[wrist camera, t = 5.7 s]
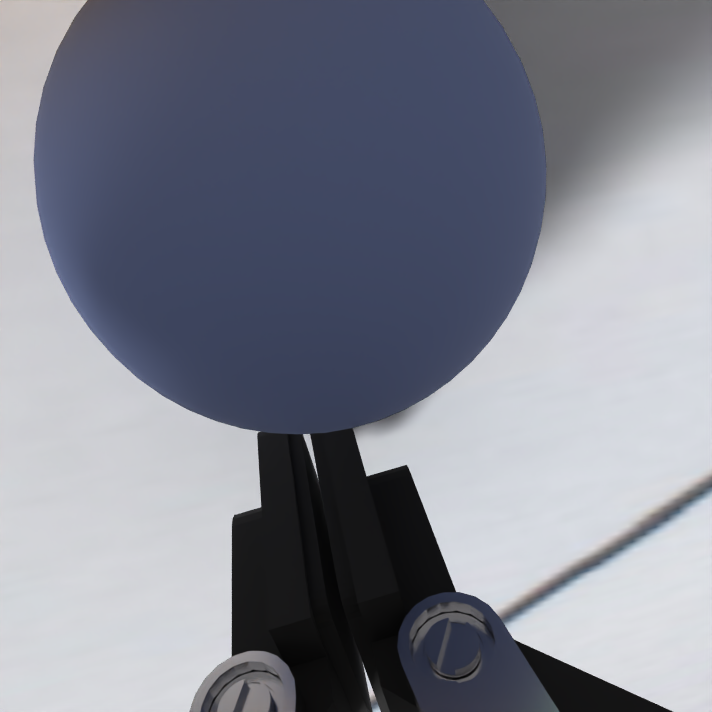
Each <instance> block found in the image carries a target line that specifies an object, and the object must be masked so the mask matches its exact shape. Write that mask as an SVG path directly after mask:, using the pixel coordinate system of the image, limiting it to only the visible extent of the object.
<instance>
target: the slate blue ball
mask: <svg viewBox="0 0 712 712" xmlns="http://www.w3.org/2000/svg"><path fill="white" fill-rule="evenodd" d="M34 172H35V185H36V198H37V206H38V211H39V216H40V220H41V225H42V230H43V234H44V239H45V242H46V245H47V247H48V250H49V253H50V256H51V259H52V261H53V264H54V267H55V270H56V272H57V274H58V276H59V278H60V280H61V282H62V284H63V286H64V288H65V290H66V292H67V294H68V296H69V298H70V300H71V302H72V303H73V305H74V306H75V308H76V309H77V311H78V312H79V314H80V315H81V317H82V318H83V319H84V321H85V322H86V324H87V325H88V327H89V328H90V330H91V331H92V332H93V333H94V334H95V335H96V337H97V338H98V339H99V340H100V341H101V342H102V343H103V345H104V346H105V347H106V348H107V349H108V350H109V351H110V353H111V354H112V355H113V356H114V357H115V358H116V359H117V360H119V361H120V362H121V363H122V364H123V365H124V366H125V367H126V368H127V369H128V370H130V371H131V372H132V373H133V374H134V375H135V376H136V377H137V378H138V379H140V380H141V381H143V382H144V383H146V384H147V385H148V386H150V387H151V388H153V389H154V390H155V391H157V392H158V393H160V394H161V395H162V396H164V397H166V398H168V399H170V400H171V401H173V402H175V403H177V404H179V405H181V406H182V407H184V408H186V409H188V410H190V411H192V412H195V413H197V414H200V415H202V416H205V417H207V418H210V419H212V420H215V421H218V422H221V423H225V424H228V425H232V426H236V427H239V428H243V429H249V430H255V431H261V432H267V433H280V434H313V433H327V432H333V431H338V430H344V429H350V428H354V427H358V426H361V425H365V424H368V423H371V422H375V421H378V420H381V419H383V418H386V417H388V416H390V415H393V414H395V413H398V412H400V411H402V410H405V409H407V408H408V407H410V406H412V405H414V404H416V403H417V402H419V401H421V400H423V399H425V398H426V397H428V396H430V395H431V394H432V393H434V392H435V391H437V390H438V389H439V388H441V387H442V386H444V385H445V384H446V383H448V382H449V381H451V380H452V379H453V378H454V377H455V376H456V375H457V374H458V373H460V372H461V371H462V370H463V369H464V368H465V367H466V366H467V365H469V364H470V363H471V362H472V361H473V360H474V358H475V357H476V356H477V355H478V354H479V353H480V352H481V351H482V349H483V348H484V347H485V346H486V345H487V344H488V343H489V342H490V340H491V339H492V338H493V336H494V335H495V333H496V332H497V330H498V329H499V328H500V326H501V325H502V323H503V322H504V320H505V319H506V318H507V316H508V314H509V312H510V310H511V308H512V307H513V305H514V303H515V301H516V299H517V297H518V296H519V294H520V292H521V290H522V287H523V285H524V282H525V279H526V277H527V274H528V272H529V269H530V267H531V264H532V261H533V257H534V254H535V250H536V246H537V242H538V239H539V235H540V231H541V226H542V219H543V212H544V205H545V198H546V157H545V147H544V138H543V130H542V125H541V121H540V117H539V113H538V108H537V104H536V100H535V96H534V94H533V91H532V88H531V86H530V83H529V80H528V78H527V75H526V72H525V70H524V67H523V64H522V62H521V60H520V58H519V57H518V55H517V53H516V51H515V49H514V47H513V45H512V44H511V42H510V40H509V38H508V36H507V34H506V32H505V31H504V29H503V27H502V25H501V24H500V23H499V21H498V20H497V18H496V17H495V16H494V14H493V13H492V12H491V10H490V9H489V7H488V6H487V5H486V3H485V2H484V1H483V0H88V1H87V2H86V3H85V5H84V6H83V7H82V9H81V10H80V11H79V12H78V14H77V15H76V16H75V18H74V20H73V22H72V24H71V25H70V27H69V29H68V31H67V33H66V35H65V36H64V38H63V40H62V42H61V44H60V46H59V47H58V49H57V51H56V54H55V57H54V60H53V62H52V65H51V68H50V71H49V73H48V76H47V79H46V82H45V84H44V87H43V92H42V97H41V102H40V107H39V112H38V116H37V121H36V132H35V148H34Z"/></svg>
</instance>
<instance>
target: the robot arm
mask: <svg viewBox="0 0 712 712" xmlns="http://www.w3.org/2000/svg"><path fill="white" fill-rule="evenodd" d="M310 435H311V440H312V446H313V451H314V457H315V462H316V468H317V473H318V478H317V475H316V472H315V469H314V466H313V463H312V460H311V457H310V454H309V451H308V448H307V445H306V442H305V440H304V437H303V434H280V433H267V432H258V436H257V438H258V455H259V473H260V490H261V508H257V509H254V510H250V511H247V512H244V513H240V514H237V515H234V517H233V521H232V657H231V658H229V659H227V660H226V661H224V662H223V663H221V664H219V665H218V666H217V667H216V668H215V669H214V670H213V671H212V672H211V673H210V674H209V675H208V676H207V677H206V678H205V680H204V681H203V683H202V684H201V686H200V687H199V689H198V691H197V692H196V694H195V697H194V699H193V702H192V705H191V708H190V711H189V712H372V707H371V702H370V697H369V692H368V687H367V682H366V677H365V672H364V667H365V670H366V672H367V675H368V678H369V681H370V683H371V686H372V689H373V691H374V694H375V697H376V699H377V702H378V705H379V707H380V710H381V712H672V711H670V710H668V709H666V708H664V707H661V706H659V705H657V704H655V703H653V702H650V701H648V700H646V699H644V698H641V697H639V696H637V695H635V694H633V693H630V692H628V691H626V690H624V689H622V688H619V687H617V686H615V685H613V684H611V683H608V682H606V681H604V680H602V679H600V678H597V677H595V676H593V675H591V674H588V673H586V672H584V671H582V670H580V669H577V668H575V667H573V666H571V665H569V664H566V663H564V662H562V661H560V660H558V659H555V658H553V657H551V656H549V655H546V654H544V653H542V652H540V651H538V650H535V649H533V648H531V647H529V646H527V645H524V644H522V643H520V642H518V641H516V640H514V639H513V638H512V636H511V635H510V633H509V632H508V630H507V628H506V627H505V625H504V624H503V622H502V621H501V619H500V617H499V616H498V615H497V614H496V613H495V612H494V611H493V609H492V608H491V607H490V606H489V605H488V604H486V603H485V602H483V601H481V600H480V599H478V598H476V597H475V596H471V595H468V594H464V593H460V592H456V591H455V588H454V585H453V583H452V580H451V577H450V575H449V572H448V570H447V567H446V564H445V562H444V559H443V557H442V554H441V551H440V549H439V546H438V544H437V541H436V538H435V536H434V533H433V531H432V528H431V525H430V523H429V520H428V518H427V515H426V512H425V510H424V507H423V504H422V502H421V499H420V497H419V494H418V491H417V489H416V486H415V484H414V481H413V478H412V476H411V473H410V471H409V468H408V467H407V465H405V466H401V467H398V468H394V469H391V470H387V471H384V472H381V473H377V474H374V475H370V476H367V477H366V473H365V470H364V466H363V463H362V459H361V456H360V452H359V449H358V445H357V442H356V438H355V435H354V431H353V428H350V429H344V430H338V431H333V432H327V433H313V434H310ZM318 479H319V480H318ZM363 664H364V667H363Z"/></svg>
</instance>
